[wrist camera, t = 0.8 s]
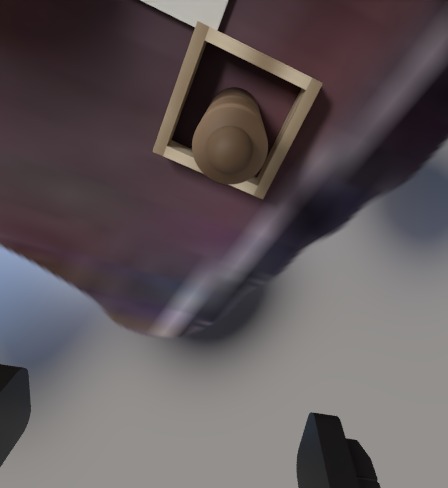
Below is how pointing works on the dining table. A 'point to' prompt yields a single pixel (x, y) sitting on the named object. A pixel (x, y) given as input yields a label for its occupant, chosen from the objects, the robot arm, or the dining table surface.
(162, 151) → the collar
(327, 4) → the dining table surface
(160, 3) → the mat
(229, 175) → the pepper mill
